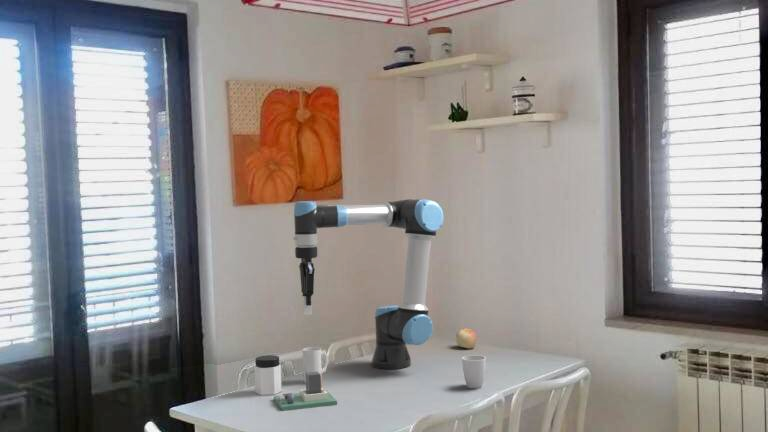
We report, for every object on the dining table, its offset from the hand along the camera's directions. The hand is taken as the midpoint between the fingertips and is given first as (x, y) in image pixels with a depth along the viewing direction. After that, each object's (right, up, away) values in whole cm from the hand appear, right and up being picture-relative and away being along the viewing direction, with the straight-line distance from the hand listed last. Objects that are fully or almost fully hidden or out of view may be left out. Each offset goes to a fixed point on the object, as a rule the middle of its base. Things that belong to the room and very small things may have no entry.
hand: (308, 314), depth 281 cm
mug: (+2, -26, +13) cm, 29 cm away
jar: (-14, -27, 0) cm, 30 cm away
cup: (+57, -25, +1) cm, 63 cm away
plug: (+3, -26, -13) cm, 29 cm away
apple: (+61, -22, +63) cm, 91 cm away
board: (0, -27, -14) cm, 30 cm away
